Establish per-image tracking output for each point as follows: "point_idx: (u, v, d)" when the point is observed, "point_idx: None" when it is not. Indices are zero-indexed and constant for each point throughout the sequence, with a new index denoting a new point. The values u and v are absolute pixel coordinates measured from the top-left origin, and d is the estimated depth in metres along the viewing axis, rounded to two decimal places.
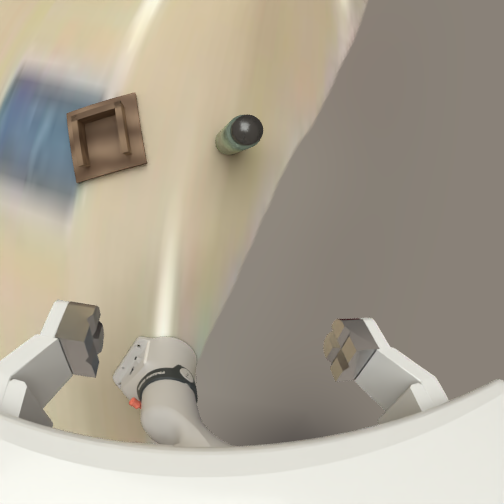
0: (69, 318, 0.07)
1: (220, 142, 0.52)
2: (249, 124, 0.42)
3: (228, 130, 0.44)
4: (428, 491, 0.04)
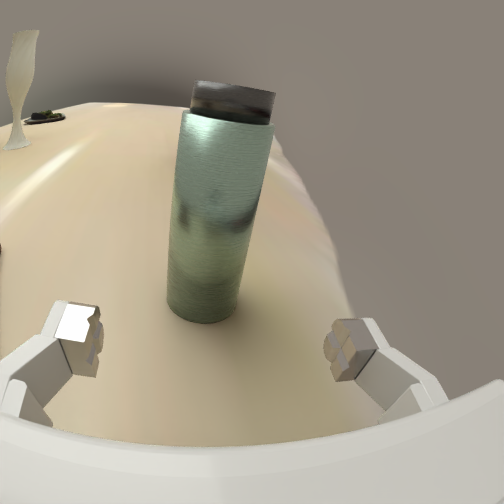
0: (69, 318, 0.07)
1: (175, 244, 0.19)
2: None
3: None
4: (428, 491, 0.04)
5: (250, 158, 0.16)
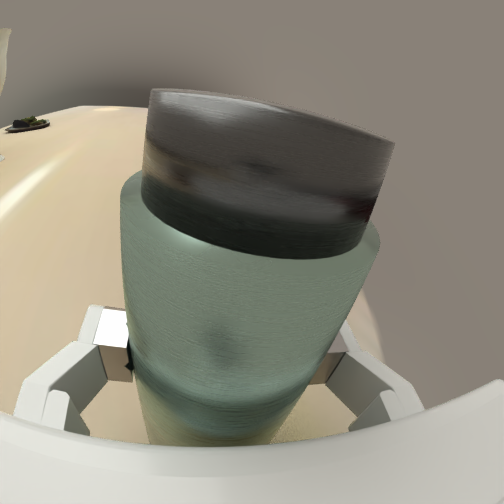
0: (107, 323, 0.07)
1: (153, 433, 0.09)
2: (265, 102, 0.06)
3: (128, 199, 0.05)
4: (428, 491, 0.04)
5: (320, 344, 0.05)
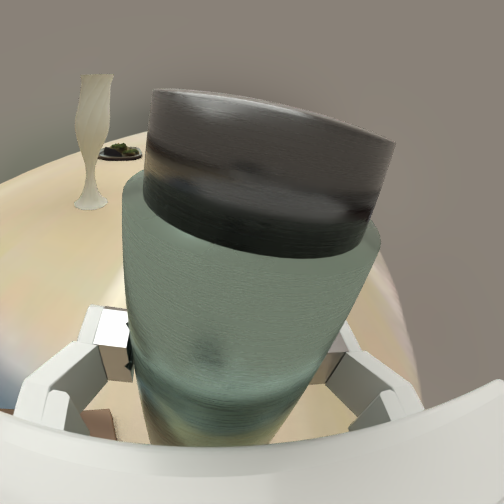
0: (107, 323, 0.07)
1: (154, 433, 0.09)
2: (266, 102, 0.06)
3: (130, 199, 0.05)
4: (428, 491, 0.04)
5: (321, 343, 0.06)
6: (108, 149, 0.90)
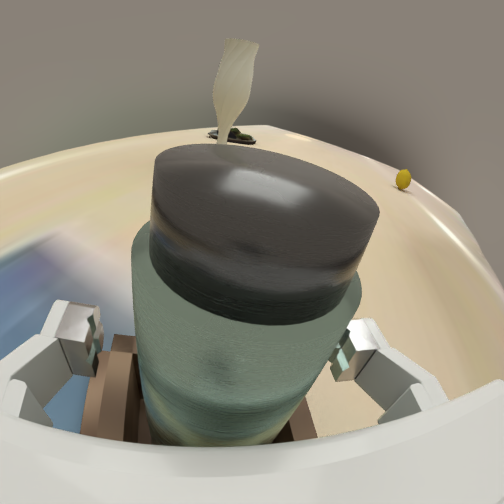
0: (69, 318, 0.07)
1: None
2: (262, 161, 0.07)
3: (139, 261, 0.06)
4: (428, 491, 0.04)
5: (305, 382, 0.06)
6: None
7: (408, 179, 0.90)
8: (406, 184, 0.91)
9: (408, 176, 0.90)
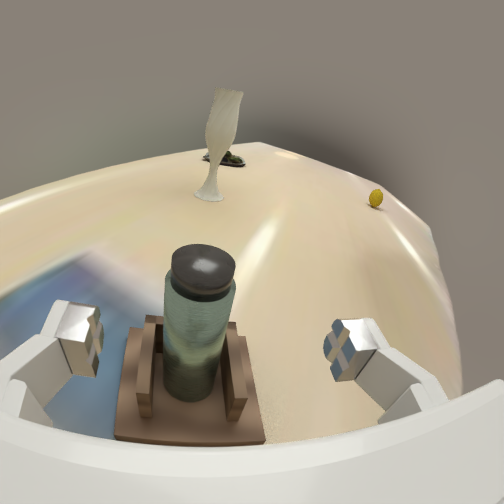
0: (69, 318, 0.07)
1: (168, 360, 0.25)
2: (203, 254, 0.23)
3: (167, 285, 0.22)
4: (428, 491, 0.04)
5: (215, 322, 0.22)
6: None
7: (380, 198, 1.07)
8: (378, 202, 1.08)
9: (380, 195, 1.07)
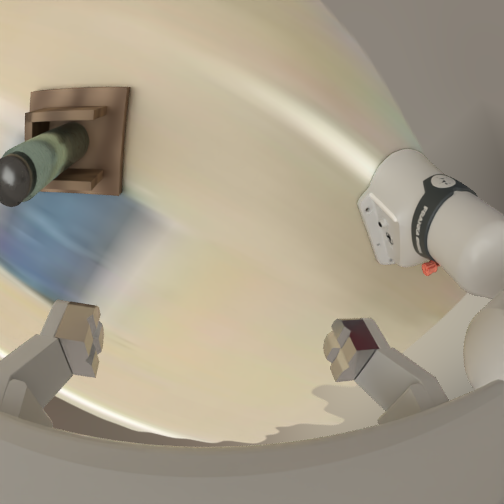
0: (69, 318, 0.07)
1: (64, 170, 0.29)
2: (1, 183, 0.19)
3: (26, 199, 0.22)
4: (427, 491, 0.04)
5: (45, 156, 0.22)
6: None
7: None
8: None
9: None
